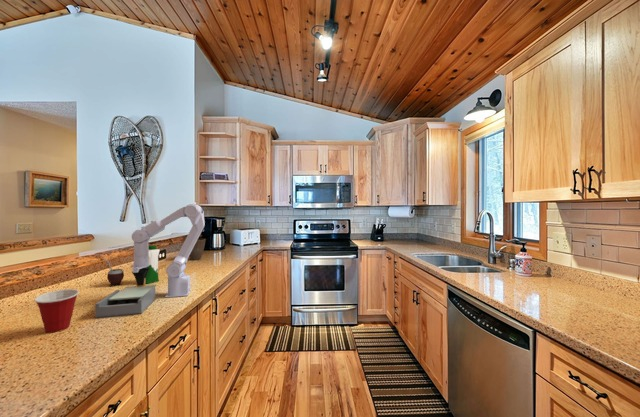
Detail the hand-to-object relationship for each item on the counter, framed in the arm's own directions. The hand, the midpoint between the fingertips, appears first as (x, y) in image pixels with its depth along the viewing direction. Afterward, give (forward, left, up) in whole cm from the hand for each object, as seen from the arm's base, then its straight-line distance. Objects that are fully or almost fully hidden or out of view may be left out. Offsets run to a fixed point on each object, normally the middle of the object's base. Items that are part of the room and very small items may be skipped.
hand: (141, 284), depth 122 cm
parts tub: (0, +14, -6) cm, 15 cm away
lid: (0, +8, -1) cm, 8 cm away
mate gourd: (+20, -24, -6) cm, 32 cm away
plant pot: (-9, -89, -6) cm, 90 cm away
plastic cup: (+15, +30, -6) cm, 34 cm away
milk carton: (+5, -26, -6) cm, 27 cm away
